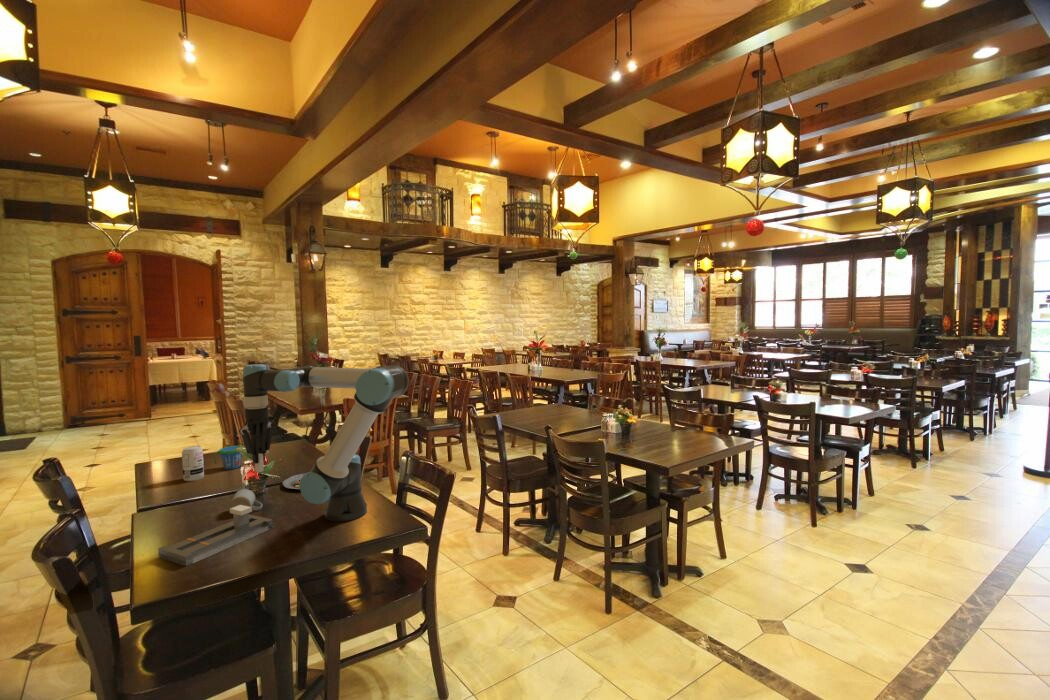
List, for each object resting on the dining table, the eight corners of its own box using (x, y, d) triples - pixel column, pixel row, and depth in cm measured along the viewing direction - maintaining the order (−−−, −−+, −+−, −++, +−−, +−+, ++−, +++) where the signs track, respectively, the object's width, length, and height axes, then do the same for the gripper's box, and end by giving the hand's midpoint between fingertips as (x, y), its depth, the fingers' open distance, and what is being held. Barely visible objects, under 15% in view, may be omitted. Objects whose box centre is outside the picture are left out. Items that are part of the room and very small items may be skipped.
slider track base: (247, 521, 183) (246, 513, 183) (273, 527, 177) (272, 519, 177) (158, 557, 156) (158, 548, 156) (186, 566, 150) (185, 556, 150)
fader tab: (241, 523, 177) (240, 504, 176) (252, 526, 174) (251, 507, 174) (230, 528, 173) (229, 508, 173) (242, 531, 170) (241, 511, 170)
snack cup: (212, 472, 244) (211, 452, 243) (216, 466, 254) (215, 447, 253) (248, 468, 250) (247, 448, 249) (251, 463, 260) (250, 444, 259)
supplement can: (186, 477, 237) (185, 446, 236) (206, 475, 240) (204, 445, 239) (180, 482, 229) (178, 450, 228) (201, 480, 232) (199, 449, 231)
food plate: (334, 470, 243) (333, 463, 243) (348, 483, 225) (348, 476, 224) (278, 483, 228) (277, 475, 228) (289, 497, 210) (288, 489, 209)
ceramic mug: (229, 516, 188) (229, 496, 188) (234, 508, 196) (233, 489, 195) (260, 512, 192) (260, 493, 191) (264, 505, 200) (263, 486, 199)
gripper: (265, 403, 186) (268, 465, 187) (232, 409, 174) (235, 475, 175) (279, 404, 183) (282, 467, 184) (246, 411, 171) (249, 477, 172)
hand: (259, 471), depth 180 cm, fingers closed
